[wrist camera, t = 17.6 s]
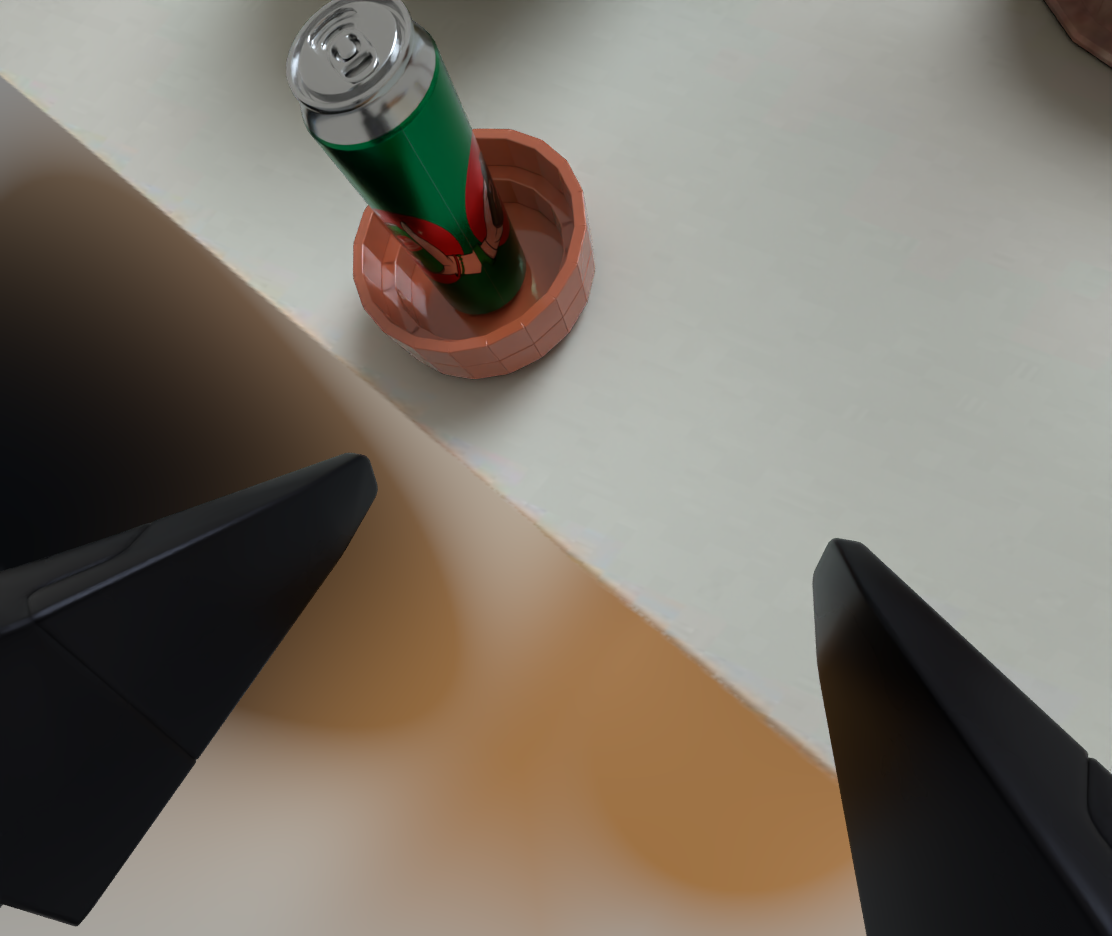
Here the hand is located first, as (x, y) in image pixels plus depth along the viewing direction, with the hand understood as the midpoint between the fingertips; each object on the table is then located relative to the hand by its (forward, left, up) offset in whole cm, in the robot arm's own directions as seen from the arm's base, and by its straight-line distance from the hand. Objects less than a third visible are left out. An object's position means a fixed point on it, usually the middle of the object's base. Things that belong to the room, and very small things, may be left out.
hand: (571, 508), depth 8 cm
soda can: (+8, +13, -13) cm, 21 cm away
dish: (+9, +13, -14) cm, 21 cm away
